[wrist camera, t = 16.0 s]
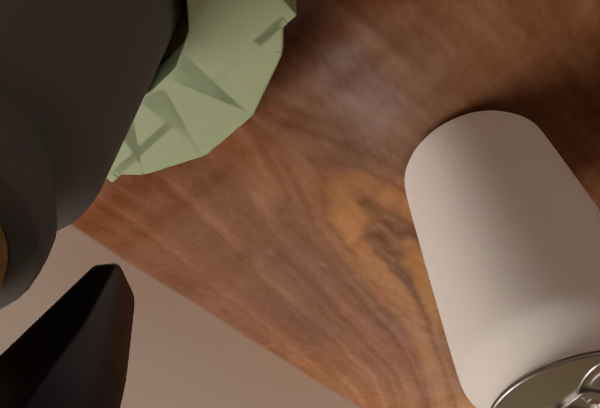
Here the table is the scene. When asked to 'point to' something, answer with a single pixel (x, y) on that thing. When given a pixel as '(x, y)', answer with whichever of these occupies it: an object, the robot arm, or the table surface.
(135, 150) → the holder
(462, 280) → the can
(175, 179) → the table surface
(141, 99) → the bottle
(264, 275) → the table surface
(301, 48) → the table surface
